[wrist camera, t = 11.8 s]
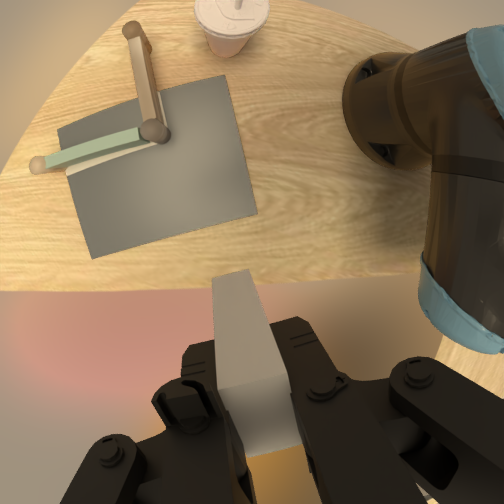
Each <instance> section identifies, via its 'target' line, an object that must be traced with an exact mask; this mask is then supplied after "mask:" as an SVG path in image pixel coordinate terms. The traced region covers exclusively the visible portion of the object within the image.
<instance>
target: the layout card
mask: <svg viewBox="0 0 504 504" xmlns="http://www.w3.org/2000/svg"><path fill="white" fill-rule="evenodd" d="M157 93H158V98H159V102H160V107H161V111H162V116H163V120H164V125H165V126H166V127H167V128H168V129H169V130H170V132H171V138H170V140H169V141H168V142H167V143H165V144H157V143H154V142H151V141H150V143H149V144H145V145H140V146H137V147H133V148H129V149H125V150H121V151H118V152H114V153H111V154H107V155H104V156H100V157H97V158H94V159H90V160H87V161H84V162H81V163H78V164H75V165H72V166H69V167H67V169H66V170H65V171H66V175H67V178H68V182H69V186H70V190H71V193H72V197H73V201H74V204H75V208H76V211H77V215H78V218H79V221H80V225H81V228H82V231H83V234H84V237H85V240H86V243H87V246H88V249H89V252H90V255H91V258H92V259H95V258H98V257H102V256H105V255H108V254H112V253H115V252H119V251H122V250H126V249H129V248H133V247H136V246H140V245H143V244H147V243H150V242H154V241H157V240H161V239H165V238H168V237H172V236H176V235H179V234H183V233H187V232H190V231H194V230H198V229H202V228H205V227H209V226H213V225H217V224H221V223H225V222H228V221H232V220H236V219H240V218H244V217H248V216H252V215H256V214H258V213H257V209H256V204H255V200H254V196H253V191H252V187H251V183H250V179H249V174H248V170H247V166H246V161H245V157H244V153H243V149H242V144H241V140H240V136H239V132H238V128H237V123H236V119H235V115H234V111H233V107H232V103H231V98H230V94H229V90H228V86H227V82H226V78H225V75H221V76H217V77H212V78H208V79H203V80H199V81H195V82H191V83H187V84H183V85H179V86H175V87H172V88H168V89H165V90H161V91H157ZM142 123H143V117H142V112H141V108H140V103H139V98H136V99H133V100H130V101H127V102H124V103H121V104H118V105H116V106H113V107H110V108H107V109H105V110H102V111H100V112H97V113H95V114H92V115H90V116H87V117H85V118H82V119H80V120H78V121H75V122H73V123H71V124H69V125H66V126H64V127H62V128H60V129H58V130H57V132H58V137H59V142H60V147H61V151H62V150H64V149H67V148H70V147H73V146H76V145H79V144H82V143H85V142H88V141H91V140H94V139H97V138H101V137H104V136H107V135H111V134H114V133H118V132H121V131H125V130H128V129H132V128H136V127H138V128H141V125H142Z"/></svg>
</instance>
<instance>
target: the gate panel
mask: <svg viewBox="0 0 504 504" xmlns="http://www.w3.org/2000/svg"><path fill="white" fill-rule="evenodd" d="M149 143H150V141H148V140H146V139H144V138H143V137H142V135H141V133H140V128H138V127H136V128H132V129H128V130H125V131H121V132H118V133H114V134H111V135H107V136H104V137H101V138H97V139H94V140H91V141H88V142H85V143H82V144H79V145H76V146H73V147H70V148H67V149H64V150H62V151H59V152H56V153H53V154H51V155H48V156H35V157H33V158H32V159H31V161H30V163H29V169H30V172H31V173H32V174H34V175H37V174H45V173H53V172H62V171H65V170H66V169H67V167H69V166H72V165H75V164H78V163H81V162H84V161H87V160H90V159H94V158H97V157H100V156H104V155H107V154H111V153H114V152H118V151H121V150H125V149H129V148H133V147H137V146H140V145H145V144H149Z"/></svg>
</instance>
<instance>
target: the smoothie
mask: <svg viewBox="0 0 504 504" xmlns="http://www.w3.org/2000/svg"><path fill="white" fill-rule="evenodd" d="M269 11H270V4H269V0H196V1H195V7H194V15H195V19H196V21H197V23H198V24H199V26H200V27H201V28H202V29H203V30H204V33H205V36H206V38H207V41H208V44H209V46H210V49H211V51H212V52H213V53H214V54H216V55H217V56H220V57H232V56H234V55H236V54H237V53H239V52H240V50H241V49H242V48H243V46H244V45H245V44H246V42H247V41H248V40H249V38H250V37H251V36H252V34H254V33H255V32H257V31H258V30H260V29H261V28H262V27H263V25H264V24H265V23H266V21H267V18H268V15H269Z"/></svg>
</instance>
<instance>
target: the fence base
mask: <svg viewBox="0 0 504 504" xmlns="http://www.w3.org/2000/svg"><path fill="white" fill-rule="evenodd" d="M122 33H123V35H124V36H125V38H126V39H127V40H128V45H129V51H130V57H131V62H132V68H133V73H134V78H135V83H136V88H137V93H138V98H139V103H140V108H141V112H142V117H143V123H142V125H141V128H140V133H141V135H142V137H143V138H144V139H146V140H148V141H151V142H154V143H157V144H165V143H167V142H168V141H169V140H170V138H171V132H170V130H169V129H168V128H167V127H166V126H165V125H164V120H163V116H162V111H161V107H160V102H159V98H158V93H157V89H156V84H155V79H154V74H153V69H152V64H151V59H150V53H151V51H152V47H151V45H150V43H149V41H148V39H147V37H146V35H145V33H144V31H143V29H142V27H141V25H140V23H139V22H137V21H130V22H128V23H126V24H125V25H124V26H123V28H122Z"/></svg>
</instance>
